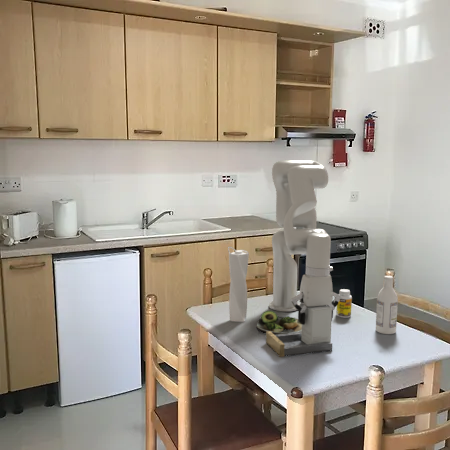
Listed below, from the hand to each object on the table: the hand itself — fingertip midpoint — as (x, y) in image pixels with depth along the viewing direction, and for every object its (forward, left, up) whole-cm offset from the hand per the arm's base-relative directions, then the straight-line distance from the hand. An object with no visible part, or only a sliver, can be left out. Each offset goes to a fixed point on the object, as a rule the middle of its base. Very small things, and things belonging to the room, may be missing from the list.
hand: (315, 321), depth 164 cm
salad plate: (-18, -5, -8) cm, 21 cm away
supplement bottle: (-23, +24, -8) cm, 34 cm away
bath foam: (-4, +30, -8) cm, 31 cm away
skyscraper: (-30, -17, -8) cm, 36 cm away
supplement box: (0, 0, -7) cm, 7 cm away
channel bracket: (+1, -6, -8) cm, 10 cm away
